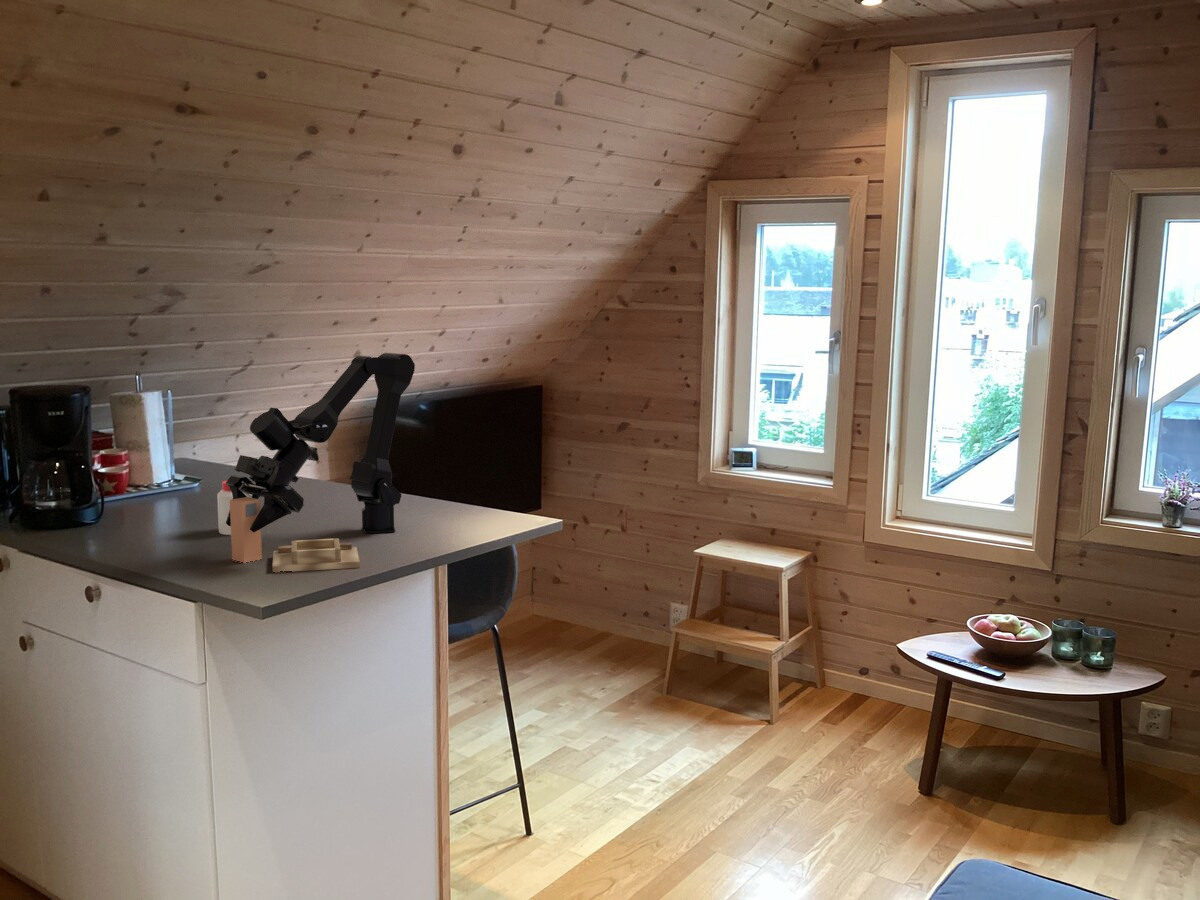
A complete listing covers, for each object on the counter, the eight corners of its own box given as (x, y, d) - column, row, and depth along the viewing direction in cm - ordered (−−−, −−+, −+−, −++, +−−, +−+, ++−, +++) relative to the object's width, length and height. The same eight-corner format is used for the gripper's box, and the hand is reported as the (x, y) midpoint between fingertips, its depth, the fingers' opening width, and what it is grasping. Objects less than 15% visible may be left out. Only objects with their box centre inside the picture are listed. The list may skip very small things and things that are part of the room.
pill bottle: (243, 525, 239) (241, 477, 237) (263, 530, 234) (261, 481, 232) (211, 531, 233) (209, 481, 231) (231, 536, 228) (229, 486, 226)
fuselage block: (249, 556, 212) (247, 496, 211) (262, 559, 210) (259, 499, 208) (232, 559, 209) (229, 499, 207) (244, 563, 207) (242, 502, 205)
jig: (356, 552, 216) (355, 534, 216) (359, 567, 205) (359, 548, 204) (273, 556, 212) (273, 538, 211) (272, 572, 201) (272, 553, 200)
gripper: (232, 435, 215) (184, 497, 208) (289, 444, 204) (241, 510, 197) (267, 468, 222) (222, 529, 215) (324, 479, 211) (278, 544, 204)
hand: (239, 527), depth 208 cm, fingers open, 8 cm apart
